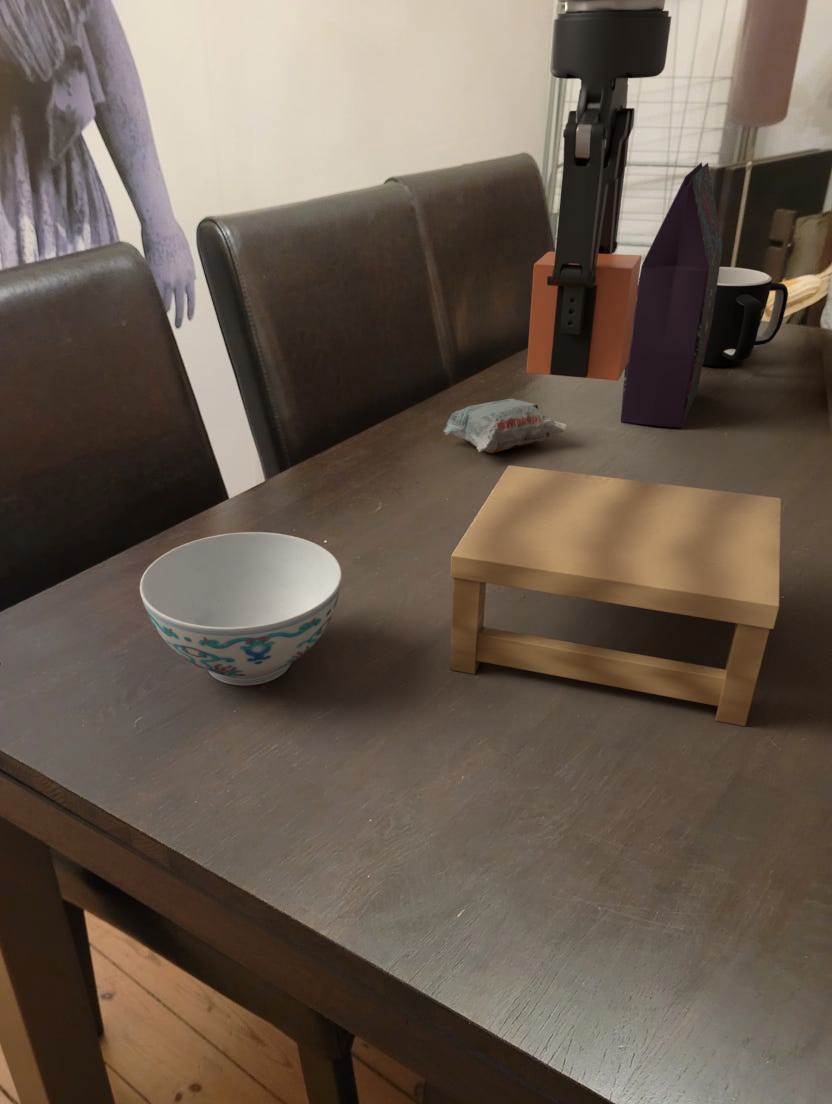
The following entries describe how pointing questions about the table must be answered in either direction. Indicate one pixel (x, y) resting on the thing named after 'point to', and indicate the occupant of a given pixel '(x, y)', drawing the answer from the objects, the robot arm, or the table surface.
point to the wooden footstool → (623, 576)
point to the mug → (742, 315)
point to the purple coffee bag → (674, 308)
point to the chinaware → (242, 602)
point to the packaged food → (502, 425)
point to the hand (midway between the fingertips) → (575, 363)
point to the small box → (610, 315)
